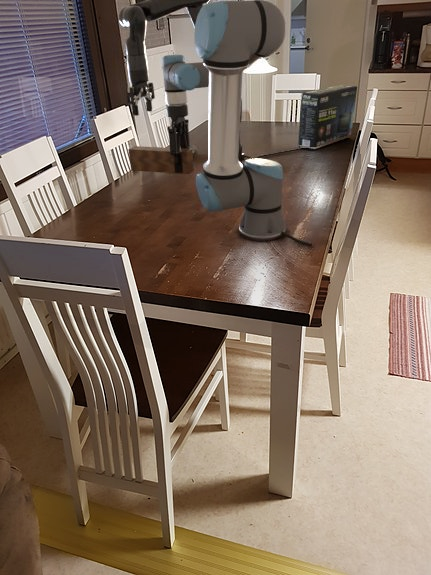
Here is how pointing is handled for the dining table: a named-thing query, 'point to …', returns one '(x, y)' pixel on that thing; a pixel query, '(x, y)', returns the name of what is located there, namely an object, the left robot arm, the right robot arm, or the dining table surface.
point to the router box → (326, 115)
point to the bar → (159, 159)
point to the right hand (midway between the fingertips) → (181, 169)
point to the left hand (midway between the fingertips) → (142, 113)
